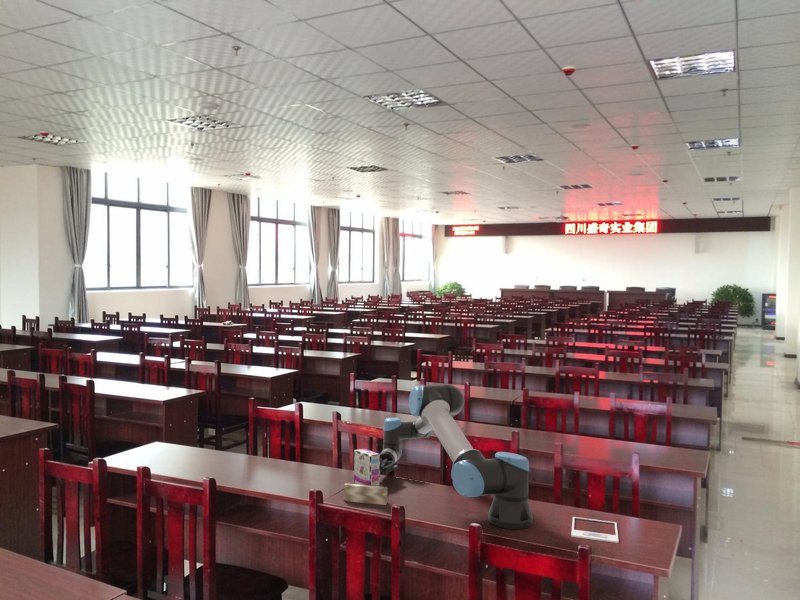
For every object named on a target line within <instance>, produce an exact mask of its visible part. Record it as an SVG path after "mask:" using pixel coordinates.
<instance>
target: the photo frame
mask: <svg viewBox="0 0 800 600" xmlns="http://www.w3.org/2000/svg"><path fill="white" fill-rule="evenodd" d="M575 519H576V520H585V521H593V522H599V523H600V522H601V523H607V524H614V532H615V534H609V533H600V532H595V531H594V532H593V531H587V530H579V529H575ZM570 537H571V538H577V539H585V540H586V539H587V540H591V541H592V540H593V541H602V542H609V543H614V544H615V543H616V544H619V532H618V524H617V521H608V520H599V519H593V518H585V517H579V516H578V517H577V516H572V523H571V535H570Z"/></svg>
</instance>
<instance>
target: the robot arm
mask: <svg viewBox="0 0 800 600" xmlns="http://www.w3.org/2000/svg"><path fill="white" fill-rule="evenodd" d="M408 400H409V401H408V402H409V403H408V407H409V412H410V415H411V416H412V417H416V418H417V417H418V418H417V419H416V420H414V421H402V420H401V419H400V418H399V417H387V418H385V419H384V421H383V430H382V431H383V443H382V451H380V453H379V454H380V475H382V474H384V475H387V474H389V473H390V472H392V471H394V470H397V469H398V460H400V458H401V456H402V453H403V452H402V451H403V449H402V447H401V440H412V439H413V440H414V439H425V438H430V437H431V436H432V434H433V432H434V434H435V435H436V437H437V438H438V440H439V442H440V444H441V445H442V448H444V450H445V452H446V453H447V455H448V457H449V458H450V460H451V462H452V468H451V470H450V471H451V472H450V477H451V480H452V485H453V487H454V489H455V490H456V492H457V493H458V494H459V495H460V496H462V497H465V498H478V497H484V496H491V495H493V499H492V502H491V505H490V508H489V510H488V514H487V520H488V522H489V523H490V524H491V525H493V526H496V527H498V528H502V529H508V530H523V529H528V528H530V527H532V525H533V519H534V518H533V513H532V511H531V510H532V509H531V507H530V504H529V481H530V480H529V478H530V477H529V476H530V475H529V474H530V461H529V459H528V458H527V457H525V456H523V455H520V454H517V453H513V452H507V451H498V452H496V453H495V454H494V458H485V456H484V455H483V453H482V452H481V451H480V450H478V449H475V448H474V447H473V446H472V445H471V443H470V441H469V440H468V438H467V437H466V436H465V433H464V432H463V431H462V429H461V428H460V427H459V424H458V423H457V422H456V421H455V419H454V417H455V416H456V415H457V416H458V414H459V413H461V412H462V411H463V408H464V407H465V396H464V394H463V392H462V391H461V390H460V389H459V388H458V387H456V386H454V385H452V384H427V385H426V384H422V385H416V386H414V387H412V389H411V390H410V393H409V399H408Z"/></svg>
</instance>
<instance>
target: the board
mask: <svg viewBox="0 0 800 600" xmlns="http://www.w3.org/2000/svg"><path fill="white" fill-rule="evenodd" d="M343 502H351V503H362V504H370V505H381V506H387V504H388V486H382V485H380V486H370V485H359V484H354V483H348V482H346V483H344V484H343Z"/></svg>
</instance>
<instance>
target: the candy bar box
mask: <svg viewBox="0 0 800 600" xmlns="http://www.w3.org/2000/svg"><path fill="white" fill-rule="evenodd" d="M353 451H354V452H353V453H354V456H353V458H354V461H353V466H354V467H353V468H354V469H353V484H359V485H370V486H381V474H380V453H379V452H378V453H377V452H375V451H372V450H370V449H366V448H358V449H354V450H353Z"/></svg>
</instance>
